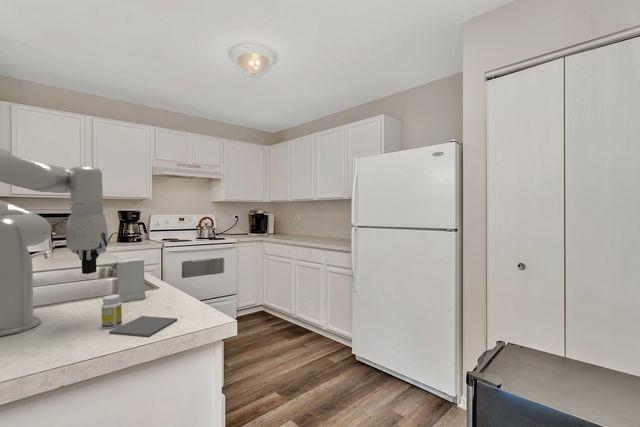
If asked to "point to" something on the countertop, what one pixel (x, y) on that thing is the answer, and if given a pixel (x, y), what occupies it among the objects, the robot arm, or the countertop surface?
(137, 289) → the skincare box
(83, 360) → the countertop surface
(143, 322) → the mat
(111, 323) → the supplement bottle
